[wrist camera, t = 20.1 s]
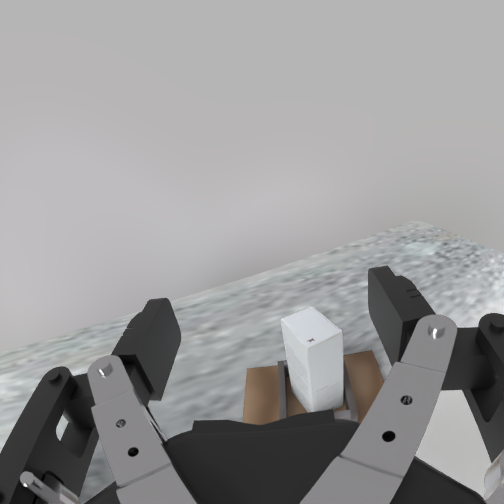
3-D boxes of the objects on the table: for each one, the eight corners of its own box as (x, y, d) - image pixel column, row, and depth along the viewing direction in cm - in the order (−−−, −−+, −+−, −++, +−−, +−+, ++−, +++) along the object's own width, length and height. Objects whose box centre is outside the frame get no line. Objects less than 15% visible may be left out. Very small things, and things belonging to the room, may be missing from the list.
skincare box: (344, 405, 33) (344, 331, 28) (314, 422, 32) (306, 349, 27) (319, 377, 38) (312, 304, 34) (290, 391, 37) (278, 318, 33)
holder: (242, 455, 30) (235, 440, 29) (248, 374, 43) (243, 356, 42) (397, 432, 28) (402, 415, 27) (371, 356, 41) (372, 337, 40)
